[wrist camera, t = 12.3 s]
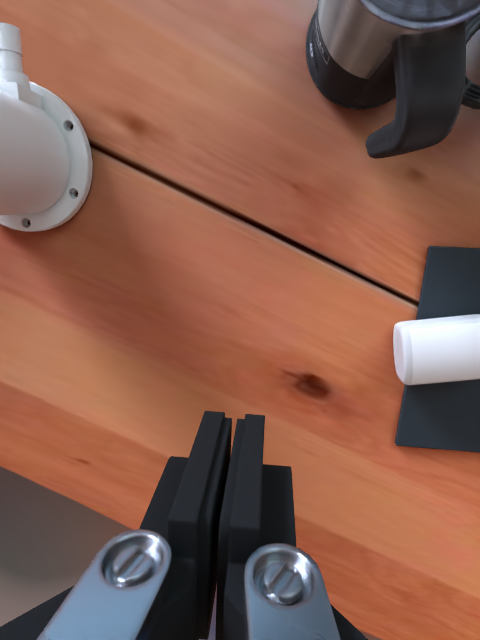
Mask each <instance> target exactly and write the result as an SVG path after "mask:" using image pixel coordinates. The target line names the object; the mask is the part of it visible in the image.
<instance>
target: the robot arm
mask: <svg viewBox="0 0 480 640" xmlns="http://www.w3.org/2000/svg"><path fill="white" fill-rule="evenodd" d="M22 57H23V56H22V46H21V36H20V30H19V28H17V27H16V26H13V25H11V24H7V23H3V22H0V224H1V225H3V226H6V227H8V228H11V229H15V230H20V231H44V230H49V229H52V228H55V227H58V226H60V225H62V224H63V223H65V222H67V221H68V220H70V219H71V218H72V217H73V216H74V215H75V214H76V213H77V212H78V211H79V209H80V208H81V206H82V205H83V203H84V202H85V199H86V197H87V195H88V192H89V190H90V185H91V180H92V169H93V161H92V154H91V148H90V144H89V141H88V138H87V135H86V133H85V131H84V129H83V127H82V125H81V123H80V121H79V119H78V118H77V116H76V115H75V114H74V112H73V111H72V110H71V108H70V107H69V106H68V105H67V104H66V103H65V102H64V101H62V100H61V99H60V98H59V97H58V96H56V95H55V94H53V93H52V92H50V91H49V90H47V89H46V88H43V87H41V86H39V85H37V84H35V83H33V82H29V77H28V76H27V75H26V74H23V66H22ZM72 125H73V129H71V126H72ZM77 191H78V196H77V195H76V192H77ZM30 223H31V224H30ZM264 424H265V416H264V415H251V414H246V415H245V419H237V425H236V430H235V436H234V442H233V447H232V453H231V431H232V418H225V412H213V411H205V412H204V415H203V418H202V421H201V424H200V427H199V430H198V432H197V435H196V438H195V441H194V444H193V447H192V450H191V453H190V456H189V458H185V457H174V456H171V457H170V458H169V460H168V462H167V464H166V467H165V469H164V471H163V474H162V476H161V479H160V481H159V483H158V486H157V488H156V490H155V493H154V495H153V498H152V500H151V502H150V505H149V507H148V509H147V512H146V514H145V517H144V519H143V521H142V524H141V526H140V528H139V529H136V530H130V531H126V532H123V533H121V534H118V535H116V536H115V537H113V538H112V539H110V540H109V541H107V542H106V543H105V545H103V547H102V548H101V549H100V550H99V551H98V552H97V554H96V555H95V557H94V558H93V560H92V561H91V563H90V564H89V565H88V567H87V568H86V570H85V571H84V573H83V574H82V575H81V577H80V578H79V580H78V581H77V583H76V584H75V585H74V586H73V587H71V588H69V589H67V590H65V591H64V592H62V593H60V594H58V595H56V596H55V597H53V598H51V599H49V600H48V601H46V602H44V603H42V604H40V605H39V606H37V607H35V608H33V609H31V610H30V611H28V612H26V613H24V614H23V615H21V616H19V617H17V618H16V619H14V620H12V621H10V622H8V623H7V624H5V625H3V626H1V627H0V640H199V639H205V640H207V639H208V636H209V630H210V623H211V617H212V611H213V604H214V598H215V591H216V585H217V605H216V640H368V639H367V638H366V637H365V636H364V635H363V634H362V633H361V632H360V631H358V630H357V629H356V628H355V627H354V626H353V625H352V624H351V623H350V622H349V621H348V620H347V619H346V618H345V617H344V616H343V615H342V614H340V613H339V612H338V611H337V610H336V609H335V608H334V607H333V606H332V605H331V604H330V601H329V598H328V595H327V591H326V588H325V584H324V581H323V577H322V574H321V572H320V570H319V568H318V565H317V564H316V562H315V561H314V560H313V559H312V558H311V557H310V555H308V554H307V553H305V552H304V551H303V550H301V549H300V548H297V547H296V534H295V518H294V503H293V487H292V471H291V467H288V466H277V465H265V464H263V445H264ZM230 458H231V459H230Z"/></svg>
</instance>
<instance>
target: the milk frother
mask: <svg viewBox="0 0 480 640" xmlns="http://www.w3.org/2000/svg"><path fill="white" fill-rule="evenodd" d="M479 29H480V0H318V5H317V9H316V11H315V13H314V15H313V17H312V20H311V23H310V26H309V29H308V34H307V41H306V57H307V64H308V68H309V72H310V75H311V77H312V79H313V81H314V83H315V84H316V86H317V88H318V89H319V90H320V91H321V93H323V95H324V96H326V98H328V99H329V100H331V101H332V102H334V103H335V104H338V105H340V106H343V107H346V108H350V109H366V108H373V107H377V106H379V105H382V104H384V103H386V102H388V101H390V100H391V99H393V98H394V97H396V98H397V99H396V113H395V118H394V120H393V121H392V122H391V123H389V124H388V125H386V126H384V127H382V128H381V129H379V130H377V131H375V132H373V133H372V134H370V135H369V136H368V138H367V140H366V148H367V152H368V154H369V156H370V157H372V158H385V157H391V156H396V155H401V154H405V153H409V152H413V151H417V150H421V149H425V148H428V147H431V146H433V145H436V144H438V143H439V142H441V141H442V140H443V139H444V138H445V137H446V136H447V135H448V134H449V133H450V131H451V129H452V127H453V125H454V123H455V121H456V118H457V116H458V113H459V110H460V106H461V104H463V105H465V106H468V107H471V108H473V109H479V110H480V86H479V85H476V84H474V83H472V82H471V81H470V80H469V79H468V78H467V77H466V44H467V42H468V41H469V40H470V38H471V37H472V36H473V35H474V34H475V33H476V32H477V31H478V30H479Z"/></svg>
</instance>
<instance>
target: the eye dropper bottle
mask: <svg viewBox="0 0 480 640" xmlns="http://www.w3.org/2000/svg"><path fill="white" fill-rule="evenodd" d="M393 349H394V360H395V368H396V373H397V376H398V377H399V379H400V380H401V381H402V382H403V383H404V384H405V385H418V384H430V383H442V382H453V381H464V380H474V379H480V314H473V315H461V316H451V317H442V318H432V319H422V320H413V321H403V322H398V323H397V324H396V325H395V327H394V335H393Z"/></svg>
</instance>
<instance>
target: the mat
mask: <svg viewBox="0 0 480 640" xmlns="http://www.w3.org/2000/svg"><path fill="white" fill-rule="evenodd" d="M473 314H480V248H460V247H439V246H429V248H428V254H427V260H426V266H425V271H424V277H423V283H422V289H421V295H420V300H419V306H418V312H417V318H416V320H422V319H432V318H442V317H451V316H461V315H473ZM395 443H396V445H397V446H408V447H420V448H432V449H445V450H457V451H469V452H480V379H474V380H464V381H453V382H442V383H430V384H418V385H405V387H404V393H403V399H402V405H401V411H400V416H399V422H398V428H397V434H396V440H395Z"/></svg>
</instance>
